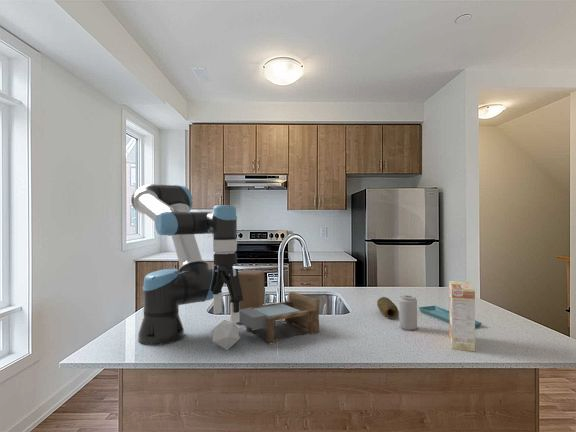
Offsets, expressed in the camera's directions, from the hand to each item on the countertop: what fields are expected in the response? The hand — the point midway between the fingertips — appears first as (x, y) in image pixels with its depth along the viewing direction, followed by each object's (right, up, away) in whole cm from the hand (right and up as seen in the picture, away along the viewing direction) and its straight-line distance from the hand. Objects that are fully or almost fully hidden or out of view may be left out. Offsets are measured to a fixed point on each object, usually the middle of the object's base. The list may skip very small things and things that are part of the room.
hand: (226, 317), depth 119 cm
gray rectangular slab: (+13, -4, +12) cm, 19 cm away
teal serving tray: (+86, -10, +31) cm, 92 cm away
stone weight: (+63, -10, +37) cm, 74 cm away
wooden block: (+5, -10, +29) cm, 31 cm away
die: (0, -10, 0) cm, 10 cm away
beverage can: (+66, -9, +19) cm, 69 cm away
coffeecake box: (+78, -10, +3) cm, 79 cm away
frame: (+18, -9, +16) cm, 26 cm away
